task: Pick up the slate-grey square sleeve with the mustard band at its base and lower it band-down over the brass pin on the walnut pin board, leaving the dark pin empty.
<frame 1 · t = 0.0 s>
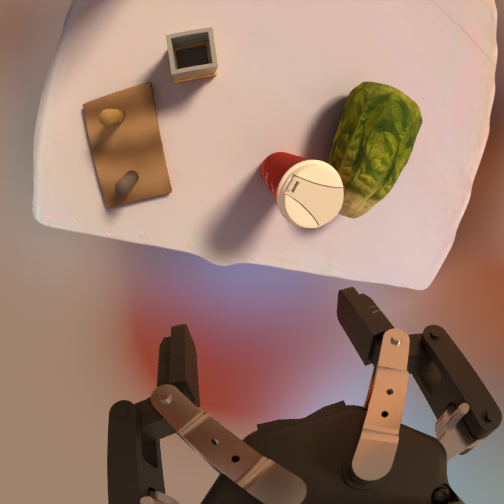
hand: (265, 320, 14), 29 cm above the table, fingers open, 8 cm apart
sleeve: (192, 60, 30), on the table
paper cup: (279, 170, 40), on the table
lettuce: (349, 145, 40), on the table
pin board: (126, 145, 34), on the table
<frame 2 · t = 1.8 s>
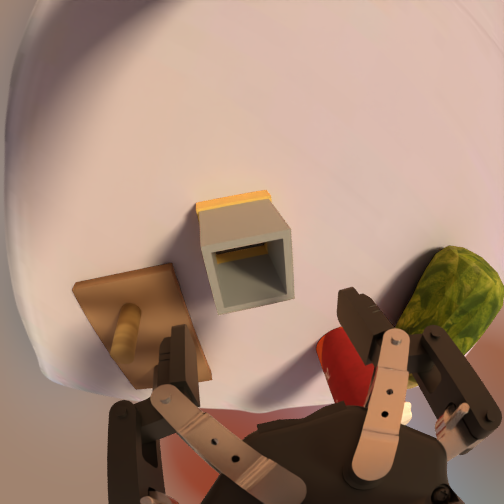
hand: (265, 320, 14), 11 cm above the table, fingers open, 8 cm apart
sleeve: (236, 227, 23), on the table
paper cup: (336, 341, 33), on the table
lettuce: (414, 300, 33), on the table
pin board: (148, 335, 27), on the table
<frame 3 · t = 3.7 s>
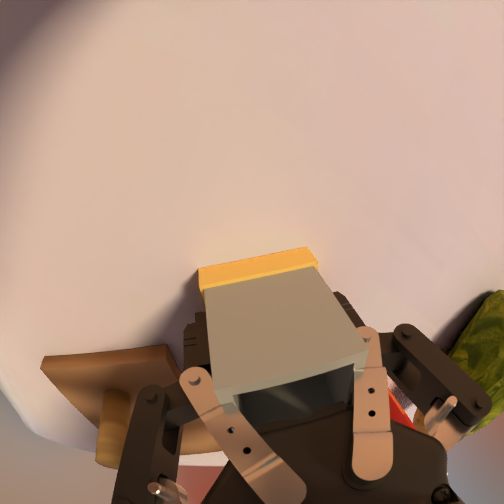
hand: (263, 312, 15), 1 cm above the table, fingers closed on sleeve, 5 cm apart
sleeve: (259, 300, 15), on the table, touching gripper
paper cup: (366, 400, 25), on the table
lettuce: (452, 348, 25), on the table
pin board: (143, 412, 19), on the table
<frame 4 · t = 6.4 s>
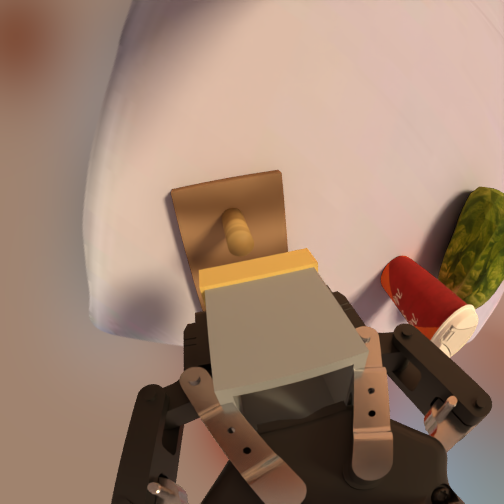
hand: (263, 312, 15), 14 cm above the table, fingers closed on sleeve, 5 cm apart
sleeve: (260, 301, 15), point 13 cm above the table, touching gripper
paper cup: (396, 272, 35), on the table
lettuce: (453, 239, 35), on the table
pin board: (237, 253, 29), on the table
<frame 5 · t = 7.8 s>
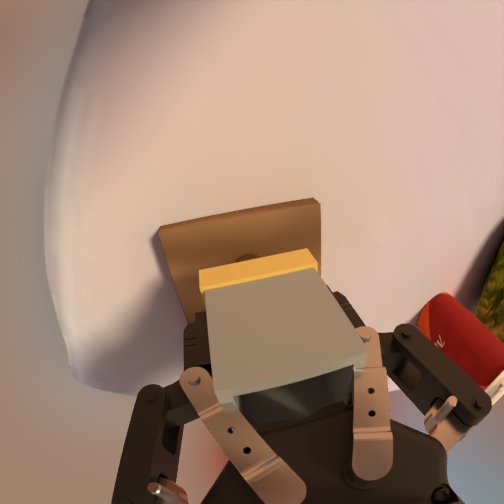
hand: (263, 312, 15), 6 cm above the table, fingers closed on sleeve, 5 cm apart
sleeve: (260, 301, 15), point 5 cm above the table, touching gripper
paper cup: (433, 310, 28), on the table
lettuce: (491, 268, 28), on the table
pin board: (253, 307, 22), on the table
when the fingers open (3 cm above the table, at t = 9.2 s): sleeve stays where it is, resting on pin board.
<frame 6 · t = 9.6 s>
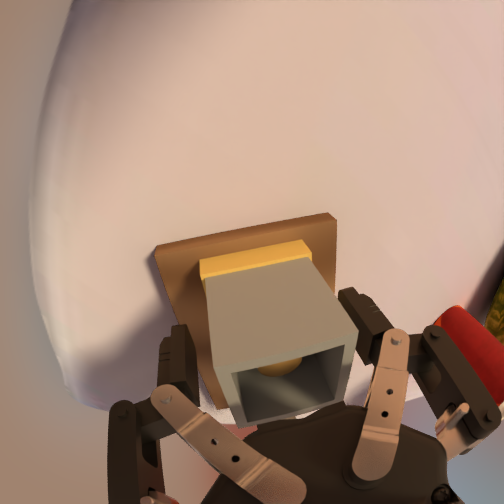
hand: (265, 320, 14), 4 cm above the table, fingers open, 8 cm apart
sleeve: (257, 291, 16), point 1 cm above the table, touching pin board
paper cup: (444, 323, 26), on the table
lettuce: (502, 278, 26), on the table
pin board: (260, 330, 20), on the table
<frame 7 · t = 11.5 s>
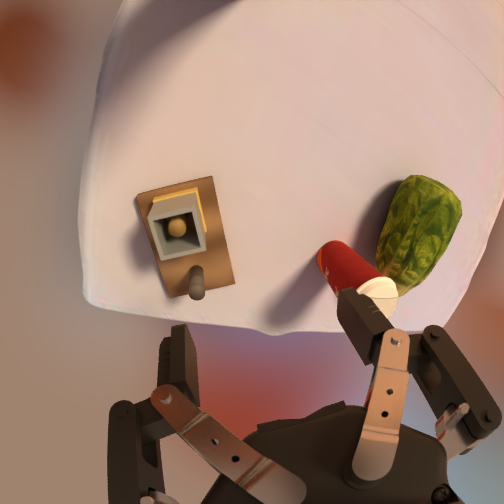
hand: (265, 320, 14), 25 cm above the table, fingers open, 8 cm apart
sleeve: (180, 212, 35), point 1 cm above the table, touching pin board
paper cup: (332, 255, 44), on the table
lettuce: (392, 226, 44), on the table
pin board: (188, 239, 38), on the table
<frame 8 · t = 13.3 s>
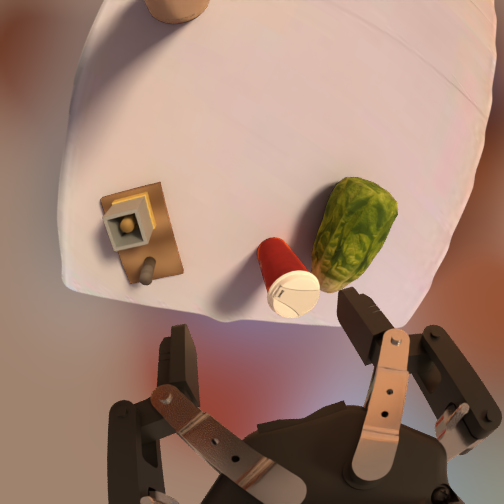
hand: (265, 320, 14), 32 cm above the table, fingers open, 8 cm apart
sleeve: (135, 212, 41), point 1 cm above the table, touching pin board
paper cup: (272, 251, 50), on the table
lettuce: (334, 225, 50), on the table
pin board: (143, 234, 44), on the table
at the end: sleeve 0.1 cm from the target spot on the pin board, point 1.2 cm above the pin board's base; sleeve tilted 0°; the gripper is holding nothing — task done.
